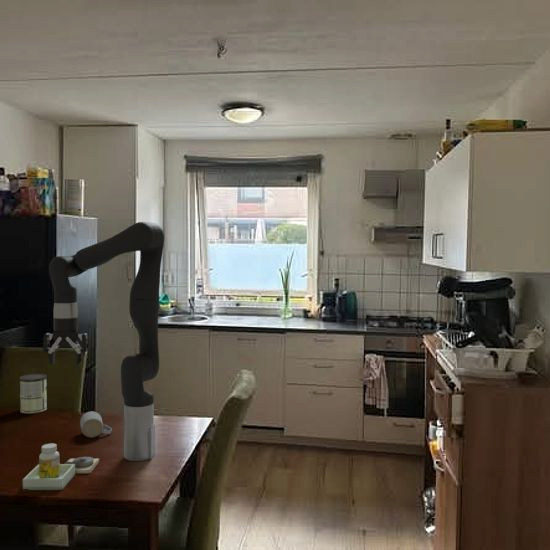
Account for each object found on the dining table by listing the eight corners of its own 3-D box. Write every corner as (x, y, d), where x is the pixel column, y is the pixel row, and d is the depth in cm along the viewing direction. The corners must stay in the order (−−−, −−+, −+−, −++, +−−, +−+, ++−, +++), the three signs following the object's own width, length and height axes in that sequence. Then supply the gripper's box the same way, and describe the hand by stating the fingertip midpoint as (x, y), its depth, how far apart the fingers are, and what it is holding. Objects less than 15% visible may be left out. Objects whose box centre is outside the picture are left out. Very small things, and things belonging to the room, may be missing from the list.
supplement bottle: (63, 477, 156) (63, 444, 156) (47, 484, 151) (47, 450, 151) (51, 473, 159) (51, 441, 158) (35, 480, 154) (34, 446, 154)
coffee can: (16, 409, 226) (16, 375, 226) (42, 405, 233) (42, 372, 232) (23, 415, 218) (23, 380, 218) (50, 410, 225) (50, 376, 224)
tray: (75, 474, 161) (75, 464, 160) (62, 489, 150) (62, 479, 150) (38, 474, 160) (38, 464, 160) (22, 490, 150) (22, 479, 149)
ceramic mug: (81, 440, 190) (82, 418, 190) (79, 433, 197) (80, 412, 197) (113, 436, 194) (113, 415, 194) (110, 429, 202) (110, 409, 201)
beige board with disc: (99, 461, 170) (99, 452, 170) (90, 473, 161) (90, 463, 161) (70, 461, 170) (69, 452, 170) (59, 473, 161) (59, 464, 161)
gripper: (39, 317, 177) (39, 366, 177) (83, 317, 177) (83, 366, 178) (48, 314, 184) (48, 362, 185) (90, 315, 185) (91, 362, 185)
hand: (66, 364), depth 181 cm, fingers open, 8 cm apart
